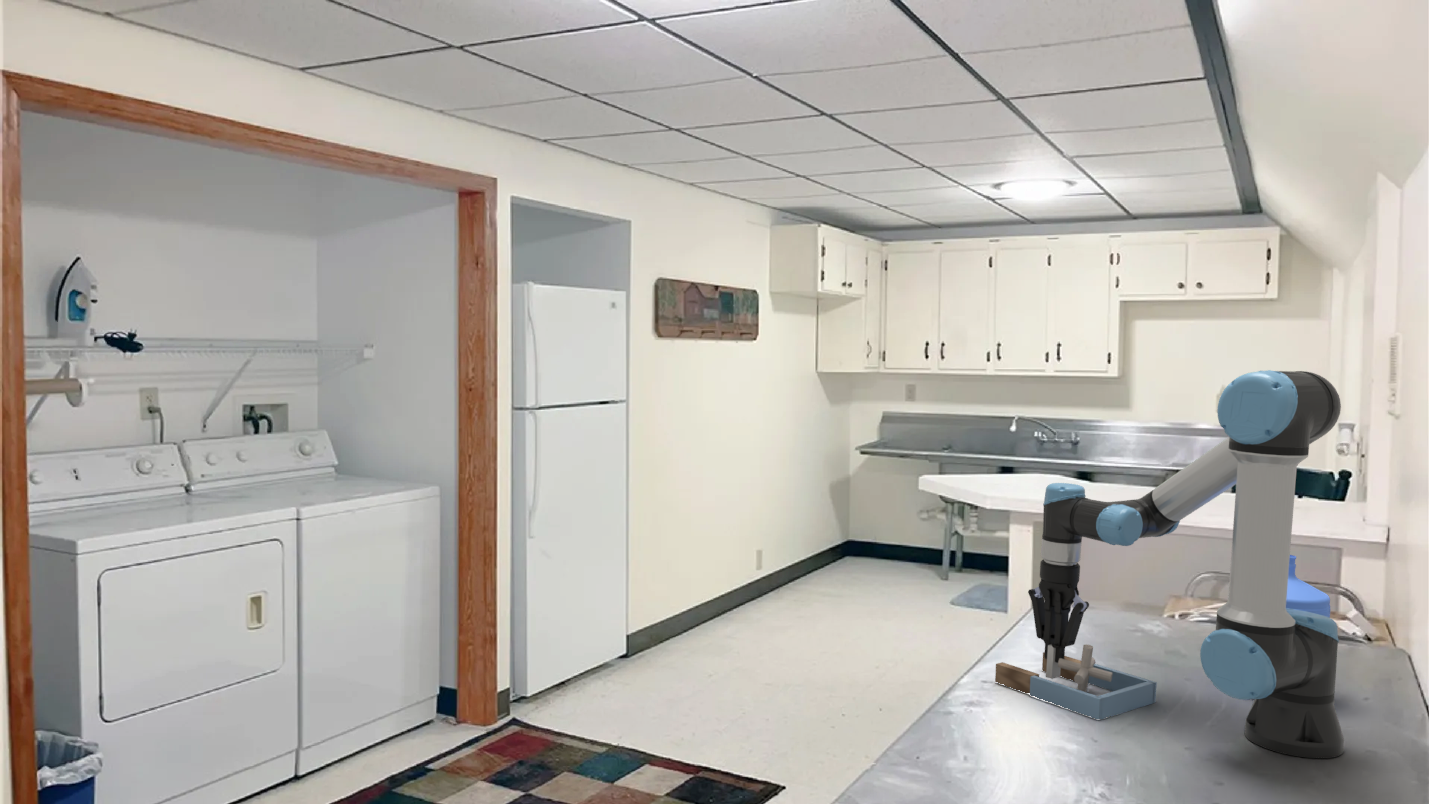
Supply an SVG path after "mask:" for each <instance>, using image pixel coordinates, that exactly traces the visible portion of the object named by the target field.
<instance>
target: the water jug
mask: <svg viewBox="0 0 1429 804" xmlns="http://www.w3.org/2000/svg"><path fill="white" fill-rule="evenodd" d="M1296 559H1297V556H1296V555H1292V554H1290V559H1289V572H1288V585H1287V599H1286V608H1289V609H1295V610H1301V611H1306V612H1311V613H1315V614H1319V615H1323V616H1326V617H1329V618H1331V604H1330V603H1331V599H1330V596H1329V595H1328V594H1327V593H1326V592H1324V591H1322V590H1321V589H1318V588H1316V587H1314V585H1311V584H1309V583H1307V582H1306V581H1304V580H1302V579H1299V578H1298V577H1297V576H1296V568H1297V564H1296Z"/></svg>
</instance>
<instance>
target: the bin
mask: <svg viewBox="0 0 1429 804" xmlns="http://www.w3.org/2000/svg"><path fill="white" fill-rule="evenodd" d="M1093 667H1094V668H1098V669H1101V670H1105V671H1108V672H1112V673H1113V675H1112V680H1111V682H1109V681H1105V680H1102V679H1098V678H1095V677H1091V676H1089V680H1088V684H1089V683H1090V684H1089V685H1092V684H1094V685H1093V686H1095V685H1096V687H1098V688H1102V687H1103V688H1102V689H1105V690H1108V691H1109V692H1107V693H1104V694H1101V695H1095V694H1093V693H1089V692H1088V691H1087V692H1083V691H1080V690H1077V688H1074V687H1071V686H1068V685H1064V684H1061V683H1060V682H1056V681H1053V680H1049V679H1047V678H1043V677H1041V676H1039V677H1038V676H1035V675H1034V676H1031V677H1030V695H1031V696H1035V697H1037V698H1039V699H1043V700H1045V701H1048V702H1052V703H1054V704H1056V705H1060V706H1062V707H1064V708H1068V709H1070V710H1072V711H1076V712H1078V713H1081V714H1084V715H1087V716H1091V717H1092V718H1095V719H1102V720H1105V719H1107V718H1106V717H1108V718H1110V717H1109V716H1111V717H1114V715H1115V716H1117V714H1118V715H1121V714H1124V713H1127V712H1131V711H1133V710H1136V709H1139V708H1143V707H1146V706H1148V705H1153V704H1156V702H1157V684H1158V683H1157V681H1153V680H1150V679H1148V678H1145V677H1141V676H1137V675H1135V674H1132V673H1128V672H1125V671H1120V670H1117V669H1114V668H1111V667H1108V666H1105V665H1102V664H1101V665H1100V664H1097V663H1095V665H1094V666H1093ZM1110 691H1111V692H1110ZM1030 695H1029V696H1030ZM1064 708H1063V709H1064ZM1072 711H1071V712H1072ZM1078 713H1077V714H1078ZM1081 714H1080V715H1081ZM1084 715H1083V716H1084ZM1092 718H1091V719H1092ZM1104 718H1105V719H1104ZM1095 719H1094V720H1095Z"/></svg>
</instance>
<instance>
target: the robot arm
mask: <svg viewBox="0 0 1429 804" xmlns="http://www.w3.org/2000/svg"><path fill="white" fill-rule="evenodd" d="M1341 408H1342V405H1341V398H1340V394H1339V393H1338V391H1337V389H1336V388H1335V386H1334V385H1333V384H1332V383H1331V382H1330V381H1329V380H1327V378H1325V377H1323V376H1321V375H1319V374H1318V373H1315V372H1311V371H1303V370H1297V371H1295V370H1293V371H1291V370H1290V371H1287V370H1285V371H1283V370H1271V369H1267V370H1257V371H1252V372H1248V373H1243V374H1242V375H1239V376H1238V377H1236V378H1235V379H1233V380H1232V381H1231V382H1230V383H1229V384H1228V385H1227V386H1226V387H1225V388H1224V389H1223V391H1222V393H1221V395H1220V397H1219V399H1218V403H1217V410H1216V412H1217V419H1218V423H1219V425H1220V427H1221V428H1222V429H1223V431H1224V433H1225V434H1226V435H1227V436H1228V437H1227V438H1225V439H1224V440H1223V441H1221V442H1219V443H1218V444H1217V445H1215V446H1214V447H1212V448H1211V449H1209V450H1208V451H1206V452H1205V453H1203V454H1202V455H1200V456H1199V457H1197V459H1195V460H1194V461H1192V462H1190V464H1188V465H1187V466H1185V467H1184V468H1182V469H1180V470H1179V471H1177V472H1176V473H1175V474H1174V475H1172V476H1170V477H1169V478H1168V479H1166V480H1165V481H1164V482H1162V483H1160V484H1159V485H1158V486H1156V487H1155V488H1154V489H1153V490H1151V491H1150V492H1148V493H1147V494H1145V495H1143V496H1142V497H1140V498H1136V499H1135V498H1134V499H1128V500H1117V501H1102V500H1096V499H1091V498H1087V497H1086V489H1085V488H1084V486H1082V485H1080V484H1076V483H1067V482H1066V483H1065V482H1053V483H1049V484H1047V486H1046V488H1045V493H1044V499H1043V520H1042V522H1043V523H1042V537H1041V548H1040V558H1041V559H1042V560H1041V561H1040V564H1039V565H1040V567H1039V578H1040V581H1039V582H1038V586H1037V587H1035V588H1030V589H1028V592H1027V594H1028V595H1029V599H1030V600H1031V603H1032V611H1033V612H1032V613H1033V618H1034V626H1035V633H1036V637H1037V639H1041V640H1042V641H1043V643H1044V652H1045V653H1044V657H1045V659H1047V669H1046V672H1045V678H1048V679H1051V680H1053V679H1056V678H1061V677H1060V670H1061V668H1060V667H1058V661H1059V659H1060V658H1062V659H1064V656H1066V655H1065V654H1066V647H1070V646H1073V645H1075V643H1076V640H1077V638H1078V637H1077V636H1078V633H1079V630H1080V627H1081V623H1082V620H1083V617H1084V614H1085V612H1086V611H1087V609H1088V608H1089V607H1090V603H1089V601H1084V600H1083V599H1082V598H1081V597H1080V596H1079V595H1080V591H1079V589H1078V585H1079V581H1080V572H1081V565H1080V564H1079V563H1080V562H1081V559H1082V558H1081V556H1082V555H1081V553H1082V540H1083V538H1087V539H1091V540H1094V541H1097V542H1098V541H1099V542H1102V543H1106V544H1109V545H1113V546H1116V545H1117V546H1121V547H1129V546H1132V545H1133V544H1134V543H1135V542H1137V541H1138V540H1139V539H1142V538H1157V537H1158V538H1161V537H1162V536H1165V535H1168V534H1171V533H1173V532H1174V531H1175V530H1177V528H1178V526H1179V525H1180V522H1181V520H1183V519H1185V518H1186V517H1187V516H1189V515H1190V514H1192V513H1194V512H1195V511H1197V510H1199V509H1201V508H1202V507H1203V506H1204V505H1206V504H1208V503H1209V502H1210V501H1213V500H1215V498H1217V497H1219V496H1220V495H1222V494H1223V493H1225V492H1226V491H1228V490H1229V489H1231V488H1233V487H1234V486H1235V497H1234V498H1235V499H1234V511H1233V512H1234V513H1233V524H1232V525H1233V526H1232V541H1231V552H1230V553H1231V556H1230V566H1229V567H1230V568H1229V579H1228V580H1229V581H1228V583H1229V584H1228V595H1227V596H1228V597H1227V602H1226V603H1225V604H1223V605H1221V606H1220V607H1219V608H1217V610H1216V619H1215V630H1213V631H1211V632H1210V634H1209V635H1207V636H1205V639H1203V641H1202V643H1201V647H1200V653H1199V655H1200V663H1201V666H1202V670H1203V672H1204V674H1205V675H1206V677H1207V678H1208V679H1210V682H1211V683H1212V685H1213V686H1214V687H1215V689H1218V691H1220V692H1221V693H1223V694H1225V695H1226V696H1228V697H1230V698H1233V699H1236V700H1242V701H1249V700H1253V702H1252V705H1251V707H1250V709H1249V711H1248V713H1247V716H1246V717H1245V721H1244V736H1245V737H1246V739H1247V740H1249V741H1250V742H1252V743H1253V744H1255V745H1257V746H1260V747H1262V748H1264V749H1266V750H1270V751H1272V752H1276V753H1280V754H1284V755H1289V756H1294V757H1299V758H1308V759H1309V758H1310V759H1330V758H1336V757H1339V756H1341V755H1342V754H1343V753H1344V747H1345V738H1344V734H1343V731H1342V726H1341V723H1340V720H1339V717H1338V714H1337V711H1336V708H1335V692H1336V691H1335V690H1336V677H1337V676H1336V675H1337V664H1338V663H1337V661H1338V645H1339V642H1340V639H1339V638H1338V636H1339V635H1338V634H1339V633H1338V632H1339V630H1338V624H1337V622H1336V621H1335V620H1334V619H1333V618H1331V617H1330V618H1329V617H1326V616H1323V615H1319V614H1315V613H1311V612H1306V611H1301V610H1295V609H1289V608H1286V599H1287V585H1288V572H1289V559H1290V555H1291V545H1292V544H1291V543H1292V533H1293V521H1294V520H1293V518H1294V505H1295V494H1296V482H1297V481H1296V479H1297V471H1298V470H1297V468H1298V465H1299V464H1300V463H1302V462H1303V461H1304V460H1306V459H1308V458H1309V450H1310V445H1311V444H1313V443H1314V442H1315V441H1317V440H1319V439H1321V438H1322V437H1323V436H1325V435H1326V434H1328V433H1329V432H1330V431H1331V430H1332V429H1333V428H1334V426H1335V425H1336V424H1337V422H1338V420H1339V417H1340V415H1341V411H1342V410H1341ZM1071 607H1072V609H1071ZM1069 614H1070V615H1069Z"/></svg>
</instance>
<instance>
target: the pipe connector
mask: <svg viewBox="0 0 1429 804" xmlns="http://www.w3.org/2000/svg"><path fill="white" fill-rule="evenodd" d="M1082 646H1083V647H1082V654H1081V659H1080V661H1081V664H1080V663H1076V662H1072V661H1069V660H1065V659H1062V658H1060V659H1059V661H1058V667H1060V668H1063V669H1067V670H1070V671H1074V672H1077V674H1076V675H1075V677H1074V681H1075V683H1076V684H1077V688H1076V689H1077V690H1080V691H1083V692H1087V693H1088V686H1089V683H1088V680H1089V676H1091V677H1095V678H1098V679H1102V680H1105V681H1109V682H1111V680H1112V675H1113V673H1112V672H1108V671H1105V670H1101V669H1098V668H1094V667H1093V666H1094V665H1095V664H1097V663H1096V659H1095V658H1094V657H1093V652H1094V646H1093V645H1091V644H1087V643H1086V644H1083V645H1082ZM1074 681H1073V682H1074Z"/></svg>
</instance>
